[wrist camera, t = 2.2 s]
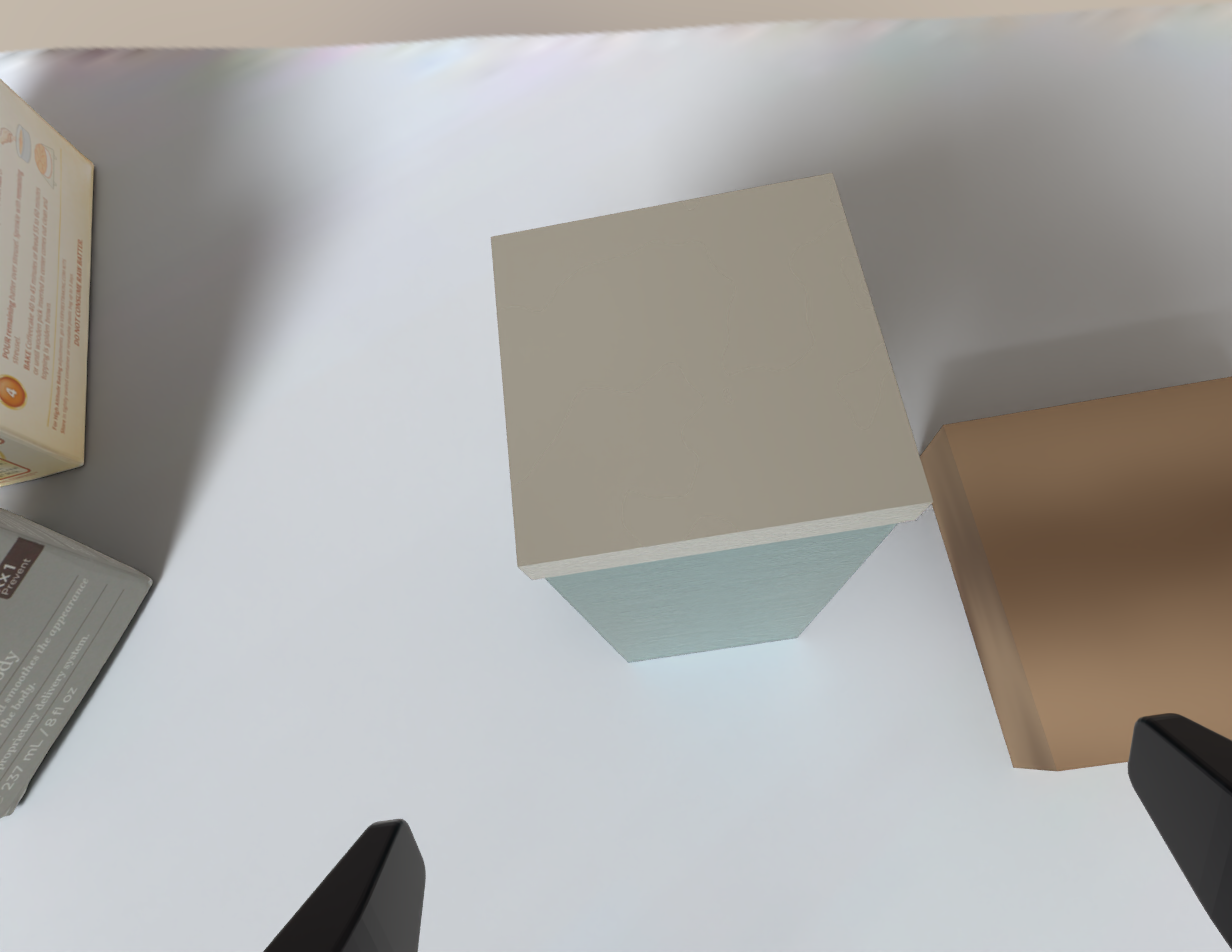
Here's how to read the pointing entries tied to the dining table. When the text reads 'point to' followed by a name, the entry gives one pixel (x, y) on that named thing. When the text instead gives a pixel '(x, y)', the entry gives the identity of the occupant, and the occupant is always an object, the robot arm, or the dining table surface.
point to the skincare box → (52, 638)
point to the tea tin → (700, 416)
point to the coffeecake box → (42, 294)
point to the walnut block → (1094, 565)
